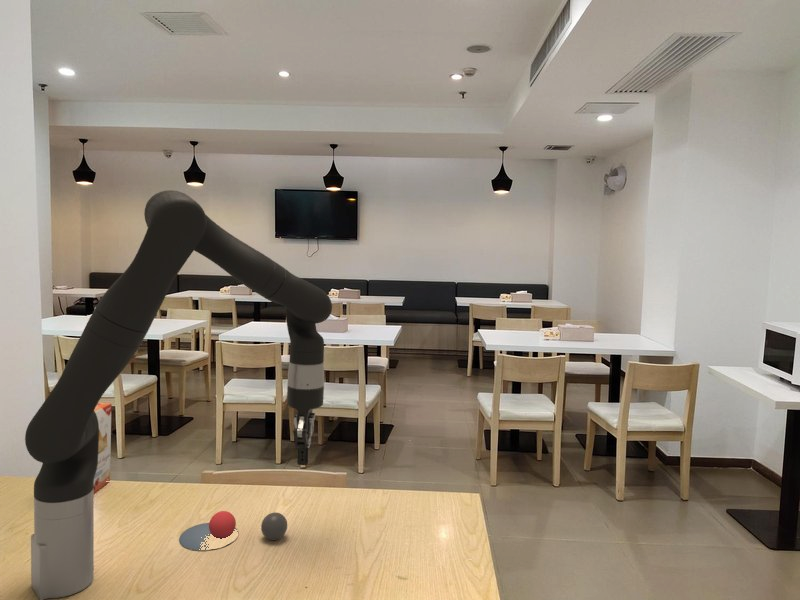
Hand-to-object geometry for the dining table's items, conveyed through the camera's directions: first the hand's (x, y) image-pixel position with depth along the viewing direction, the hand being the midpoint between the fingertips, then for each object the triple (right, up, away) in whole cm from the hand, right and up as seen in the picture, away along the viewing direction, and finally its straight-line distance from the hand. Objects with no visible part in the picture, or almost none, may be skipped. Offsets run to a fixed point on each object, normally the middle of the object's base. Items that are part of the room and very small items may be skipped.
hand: (303, 463), depth 123 cm
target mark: (-20, -16, +1) cm, 26 cm away
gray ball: (-6, -14, +2) cm, 15 cm away
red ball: (-17, -13, +1) cm, 22 cm away
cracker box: (-57, -13, +20) cm, 61 cm away
